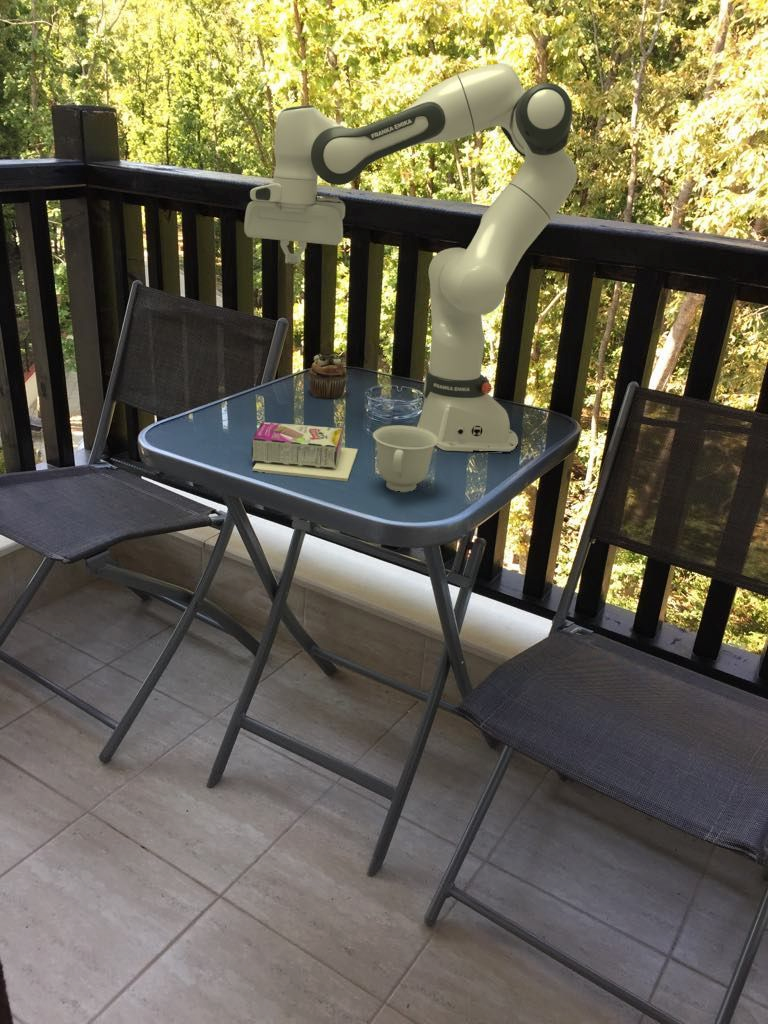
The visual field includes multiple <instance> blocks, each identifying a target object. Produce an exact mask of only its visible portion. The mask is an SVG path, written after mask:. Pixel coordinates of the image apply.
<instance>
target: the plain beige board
mask: <svg viewBox="0 0 768 1024" xmlns="http://www.w3.org/2000/svg"><path fill="white" fill-rule="evenodd" d="M357 455H358V448H351V447H343V446H342V448H341V452H340V456H339V459H338V462H337V466H336V468H335V469H331V468H320V467H308V466H297V465H286V464H274V463H263V462H255V465H254V466H253V467H252V472H253V471H258V472H257V473H262V472H265V473H264V474H272V475H274V474H275V475H282V476H283V475H284V476H290V477H291V476H293V477H302V478H311V479H322V480H330V481H340V482H348V481H349V478H350V475H351V471H352V469H353V467H354V464H355V460H356V457H357Z"/></svg>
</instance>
